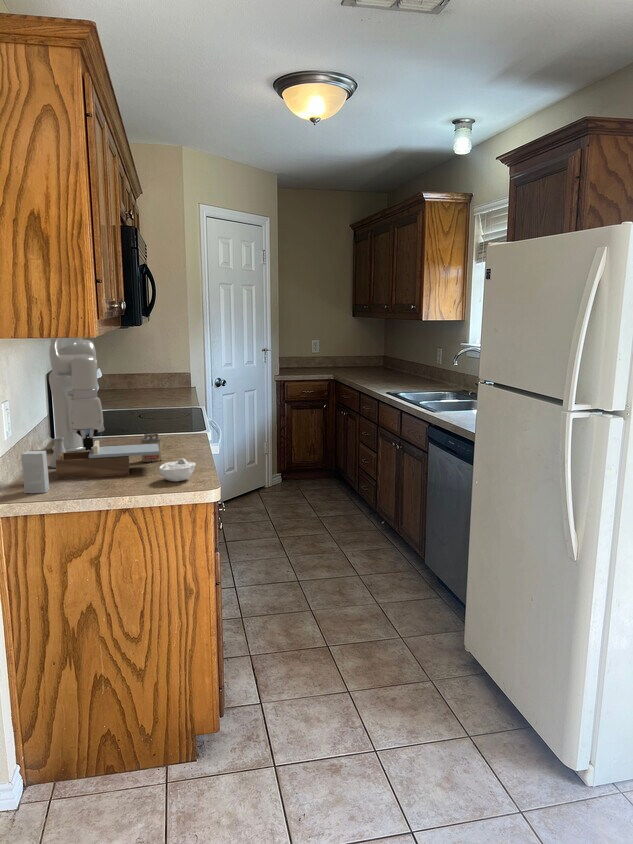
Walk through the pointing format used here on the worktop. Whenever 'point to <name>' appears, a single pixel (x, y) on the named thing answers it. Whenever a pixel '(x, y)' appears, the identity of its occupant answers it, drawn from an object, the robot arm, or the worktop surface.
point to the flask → (57, 451)
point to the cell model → (177, 470)
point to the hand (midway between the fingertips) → (88, 449)
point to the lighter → (152, 441)
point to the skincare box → (35, 472)
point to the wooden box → (89, 465)
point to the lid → (122, 450)
